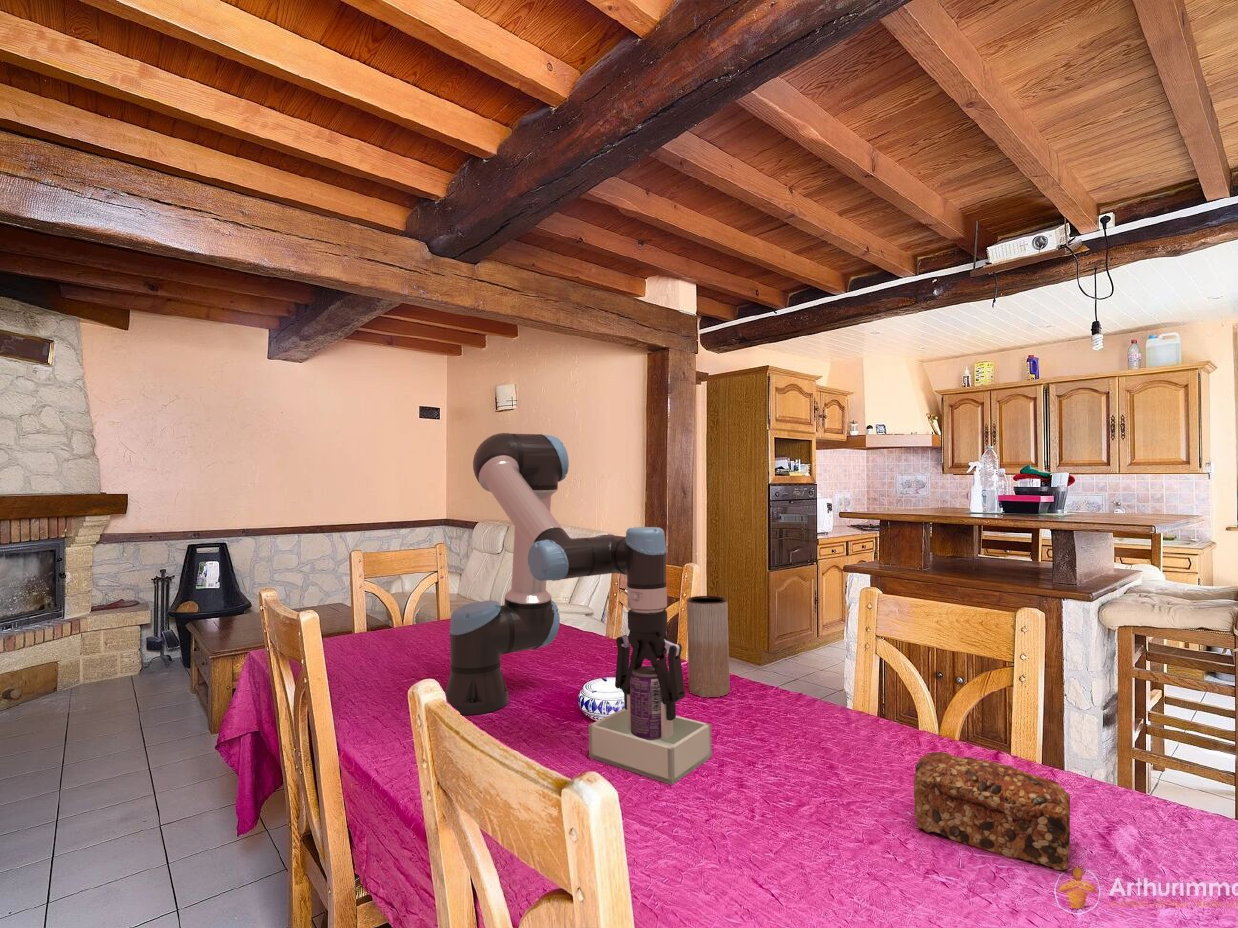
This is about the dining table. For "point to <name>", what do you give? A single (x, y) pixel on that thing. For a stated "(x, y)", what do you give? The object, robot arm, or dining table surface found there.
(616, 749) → the tub
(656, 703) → the beverage can
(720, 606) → the planter
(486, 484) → the robot arm
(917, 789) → the bread
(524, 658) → the dining table surface
